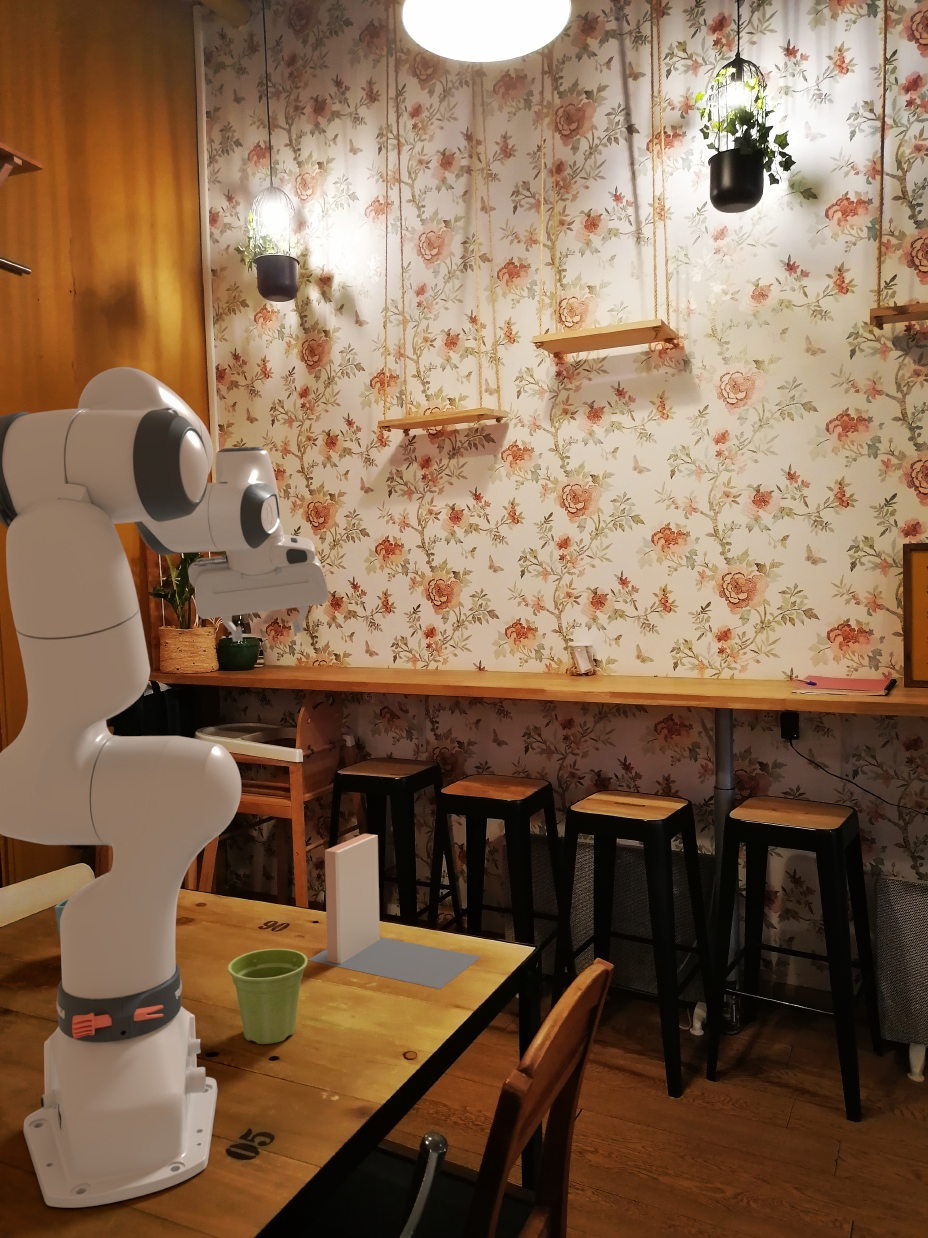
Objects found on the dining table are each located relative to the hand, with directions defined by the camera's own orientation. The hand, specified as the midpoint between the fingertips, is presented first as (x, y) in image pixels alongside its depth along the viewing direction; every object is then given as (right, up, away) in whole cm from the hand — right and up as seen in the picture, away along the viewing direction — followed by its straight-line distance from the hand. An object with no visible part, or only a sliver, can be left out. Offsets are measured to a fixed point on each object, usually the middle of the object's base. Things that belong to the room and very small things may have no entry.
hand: (268, 635), depth 147 cm
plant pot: (+7, -48, -33) cm, 59 cm away
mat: (+21, -47, -12) cm, 53 cm away
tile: (+15, -46, -9) cm, 49 cm away
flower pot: (-23, -48, -9) cm, 54 cm away
